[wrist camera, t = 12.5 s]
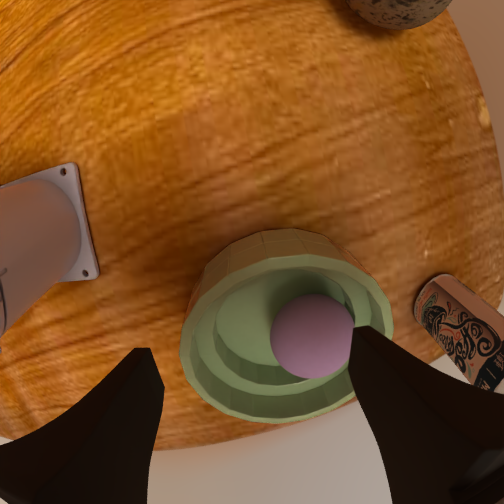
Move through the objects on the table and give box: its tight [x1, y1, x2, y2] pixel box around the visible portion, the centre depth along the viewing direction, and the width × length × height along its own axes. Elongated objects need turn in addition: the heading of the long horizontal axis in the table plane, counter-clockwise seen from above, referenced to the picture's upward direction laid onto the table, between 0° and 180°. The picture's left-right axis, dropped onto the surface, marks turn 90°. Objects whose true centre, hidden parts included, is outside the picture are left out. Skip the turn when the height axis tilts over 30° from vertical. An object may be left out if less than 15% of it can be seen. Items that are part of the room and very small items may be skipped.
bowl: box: [179, 228, 394, 423], centre depth 18 cm, size 12×12×5 cm
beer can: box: [414, 274, 504, 394], centre depth 15 cm, size 5×5×12 cm
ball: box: [270, 294, 355, 379], centre depth 17 cm, size 5×5×5 cm
